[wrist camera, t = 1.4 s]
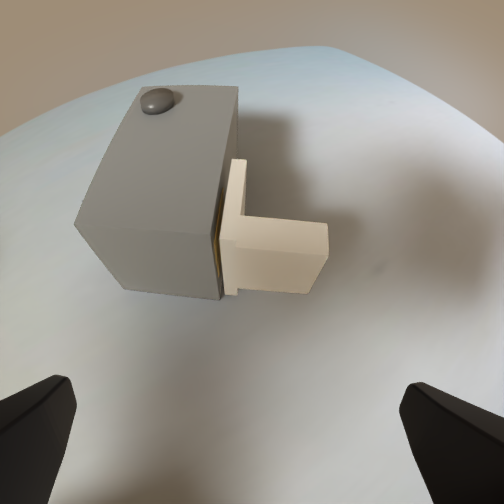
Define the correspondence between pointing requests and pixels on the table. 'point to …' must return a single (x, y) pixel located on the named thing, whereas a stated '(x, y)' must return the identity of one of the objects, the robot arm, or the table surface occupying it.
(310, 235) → the cream l-shaped bracket
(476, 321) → the table surface
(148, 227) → the block
